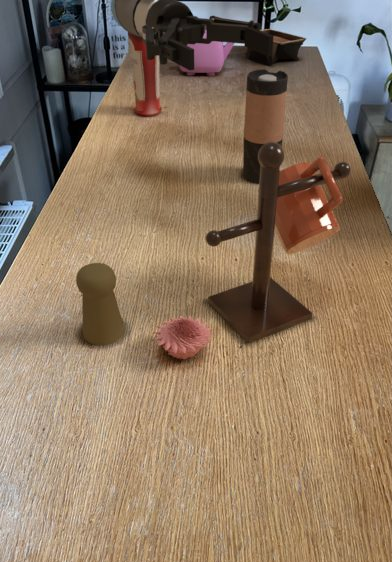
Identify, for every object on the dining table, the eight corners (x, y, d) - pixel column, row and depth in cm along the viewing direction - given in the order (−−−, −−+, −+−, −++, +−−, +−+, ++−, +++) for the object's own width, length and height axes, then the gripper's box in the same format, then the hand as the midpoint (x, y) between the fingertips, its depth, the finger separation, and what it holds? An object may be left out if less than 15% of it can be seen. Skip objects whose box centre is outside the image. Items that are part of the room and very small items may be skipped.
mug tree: (306, 269, 95) (328, 109, 78) (351, 305, 88) (387, 136, 71) (187, 311, 87) (183, 142, 70) (226, 354, 80) (233, 177, 63)
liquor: (130, 111, 150) (120, -16, 132) (157, 107, 152) (151, -19, 134) (139, 121, 145) (129, -10, 126) (167, 117, 147) (161, -13, 128)
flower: (217, 339, 82) (218, 307, 79) (205, 378, 77) (205, 346, 73) (163, 331, 84) (161, 300, 80) (147, 369, 78) (144, 337, 74)
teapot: (166, 78, 170) (164, 30, 161) (171, 65, 179) (169, 19, 171) (235, 79, 169) (237, 30, 160) (236, 66, 178) (238, 19, 169)
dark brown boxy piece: (275, 57, 192) (272, 23, 186) (312, 61, 179) (310, 24, 173) (239, 68, 187) (236, 33, 181) (275, 73, 174) (272, 36, 168)
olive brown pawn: (123, 318, 86) (116, 254, 79) (127, 345, 82) (119, 279, 74) (82, 323, 85) (70, 258, 78) (83, 350, 81) (71, 284, 74)
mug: (276, 259, 85) (248, 197, 86) (319, 244, 89) (292, 185, 89) (324, 222, 74) (292, 151, 74) (372, 207, 77) (340, 139, 78)
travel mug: (252, 189, 117) (259, 83, 104) (235, 173, 122) (239, 71, 109) (286, 181, 119) (296, 78, 106) (267, 167, 125) (275, 66, 111)
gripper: (227, 37, 107) (298, 66, 93) (99, 58, 98) (157, 94, 84) (228, -11, 102) (303, 13, 88) (94, 6, 93) (154, 36, 79)
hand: (232, 52), depth 86 cm, fingers open, 13 cm apart
